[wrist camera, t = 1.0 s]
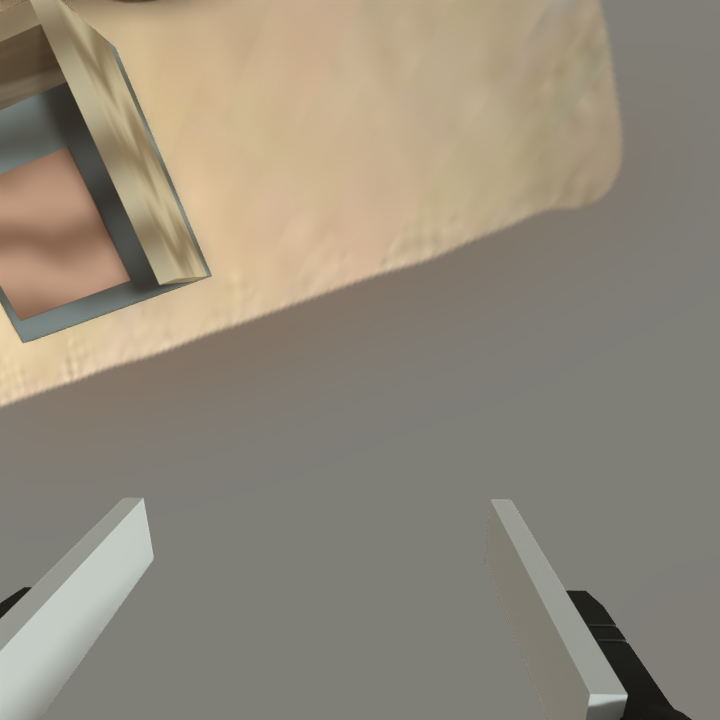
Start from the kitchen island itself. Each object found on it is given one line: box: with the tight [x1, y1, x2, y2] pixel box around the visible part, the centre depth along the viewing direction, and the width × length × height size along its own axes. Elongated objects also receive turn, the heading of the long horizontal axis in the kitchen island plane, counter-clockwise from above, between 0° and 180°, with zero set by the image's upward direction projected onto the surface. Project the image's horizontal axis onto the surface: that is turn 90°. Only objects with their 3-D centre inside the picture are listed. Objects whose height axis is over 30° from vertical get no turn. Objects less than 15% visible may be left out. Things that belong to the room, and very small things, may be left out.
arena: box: [0, 0, 211, 343], centre depth 32 cm, size 20×20×7 cm
